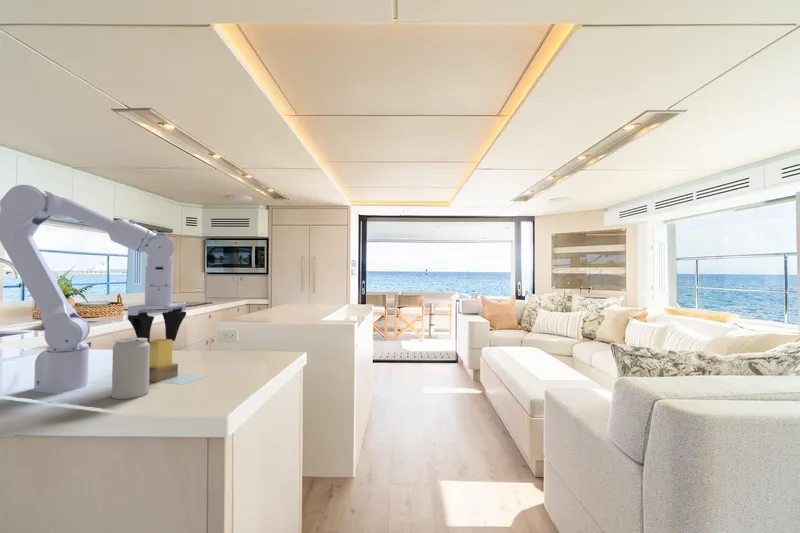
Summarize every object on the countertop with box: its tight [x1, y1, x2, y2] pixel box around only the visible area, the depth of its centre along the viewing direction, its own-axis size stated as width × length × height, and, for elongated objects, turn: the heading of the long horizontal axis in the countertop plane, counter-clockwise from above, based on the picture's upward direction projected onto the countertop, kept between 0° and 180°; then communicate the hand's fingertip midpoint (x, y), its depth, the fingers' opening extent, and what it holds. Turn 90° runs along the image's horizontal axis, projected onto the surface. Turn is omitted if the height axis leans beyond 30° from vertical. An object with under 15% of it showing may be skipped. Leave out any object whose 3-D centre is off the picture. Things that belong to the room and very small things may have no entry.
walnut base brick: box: [149, 362, 179, 383], centre depth 98 cm, size 6×6×3 cm
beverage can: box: [111, 337, 150, 400], centre depth 85 cm, size 6×6×12 cm
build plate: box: [159, 372, 209, 385], centre depth 98 cm, size 12×8×1 cm, turn 74°
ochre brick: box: [149, 338, 173, 368], centre depth 98 cm, size 4×4×6 cm
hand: (157, 343), depth 98 cm, fingers open, 7 cm apart
